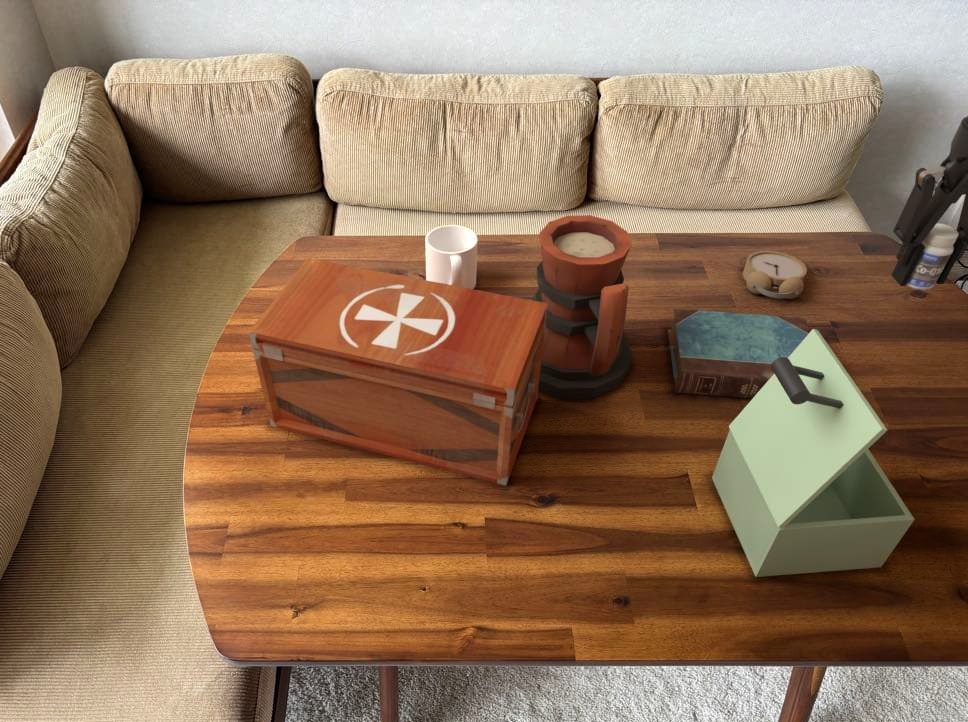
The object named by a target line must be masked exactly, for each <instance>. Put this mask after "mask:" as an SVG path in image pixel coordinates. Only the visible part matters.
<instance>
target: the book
mask: <svg viewBox="0 0 968 722" xmlns="http://www.w3.org/2000/svg"><path fill="white" fill-rule="evenodd" d="M672 310H673V321H672V326H671V329H667V335H668V342H669V343H668V344H669V351H670V355H671V356H670V358H671V366H672V374H673V380H674V382H673V383H674V388H675V393H678V394H679V393H680V394H688V395H702V396H712V397H713V396H715V397H725V398H726V397H727V398H738V399H749V400H752V399H753V398H754V396H755V395H756V394H757V393H758V392H759V391H760V390H761V388H762V387H763V386H764V385H765V384H766V383H767V381H768V380H769V379H770V378H771V377H772V376H773V375H774V372H773V370H772V368H771V364H772V362H773V361H774V360H776V359H778V358H780V357H786V358H788V357H789V356H790V355H791V354H792V353H793V351H794V350H795V349H796V348H797V347H798V346H799V344H800V343H801V342H802V341H803V340H804V339H805V338H806V336H807V335H808V334H809V333H810V332H811V330H810V328H809V325H808V321H807V319H806V317H798V316H797V317H796V316H782V315H771V314H769V315H768V314H755V313H739V312H726V311H715V310H714V311H712V310H697V309H685V308H683V309H682V308H673V309H672Z"/></svg>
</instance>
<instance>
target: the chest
mask: <svg viewBox="0 0 968 722" xmlns="http://www.w3.org/2000/svg"><path fill="white" fill-rule="evenodd" d="M711 479H712V482H713V484H714V486H715V489H716V491H717V493H718V496H719V498H720V500H721V502H722V504H723V506H724V509H725V512H726V513H727V516H728V518H729V521H730V523H731V525H732V527H733V530H734V531H735V534H736V537H737V539H738V540H739V543H740V546H741V547H742V550H743V552H744V554H745V556H746V559H747V561H748V564H749V565H750V567H751V570H752V572H753V575H754V576H755V578H760V577H773V576H775V577H776V576H783V575H784V576H787V575H788V576H789V575H799V574H812V573H825V572H837V571H850V570H851V571H852V570H862V569H864V570H865V569H875V568H882V567H883V565H884V564H885V562H886V561H887V559H888V558H889V557H890V556H891V554H892V553H893V551H894V549H895V548H896V547H897V546H898V544H899V543H900V541H901V540H902V538H903V537H904V536H905V534H906V532H907V531H908V530H909V528H910V527H911V526H912V524H913V523H914V521H915V517H914V516H913V515H912V513H911V512H910V510H909V509H908V507H907V505H906V504H905V502H904V501H903V500H902V498H901V496H900V495H899V493H898V492H897V490H896V488H895V487H894V485H893V484H892V483H891V481H890V479H889V478H888V477H887V475H886V473H885V472H884V470H883V469H882V468H881V466H880V464H879V463H878V461H877V459H875V457H874V455H873V454H872V452H871V451H870V449H869V448H868V449H867V450H866V451H865V452H864V453H863V454H862V455H861V456H860V457H858V458H857V459H856V460H855V461H854V462H853V463H852V464H851V465H850V466H849V467H848V468H847V469H846V470H845V471H844V472H842V473H841V474H840V475H839V476H838V477H837V478H836V479H835V480H834V481H833V482H832V483H831V484H830V485H829V486H827V487H826V488H825V489H824V490H823V491H822V492H821V493H820V494H819V495H818V496H817V497H816V498H815V499H814V500H813V501H811V502H810V503H809V504H808V505H807V506H806V507H805V508H804V509H803V510H802V511H801V512H800V513H799V514H798V515H796V516H795V517H794V518H793V519H792V520H791V521H790V522H789V523H788V524H787V525H786V526H785V527H784V528H781V527H778V526H777V523H776V521H775V519H774V517H773V515H772V513H771V511H770V509H769V507H768V505H767V503H766V501H765V499H764V497H763V495H762V493H761V491H760V489H759V487H758V485H757V483H756V481H755V479H754V477H753V475H752V473H751V471H750V469H749V467H748V465H747V463H746V461H745V459H744V457H743V455H742V453H741V451H740V449H739V447H738V445H737V443H736V441H735V439H734V437H733V435H732V433H731V430H730V429H729V431H728V434H727V436H726V438H725V442H724V445H723V447H722V449H721V452H720V455H719V457H718V459H717V462H716V465H715V468H714V471H713V473H712V476H711Z"/></svg>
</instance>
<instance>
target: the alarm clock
mask: <svg viewBox="0 0 968 722" xmlns="http://www.w3.org/2000/svg"><path fill="white" fill-rule="evenodd" d="M807 272H808V268H807V266H806V264H805V263H804V262H803V261H802V260H800V259H798V258H797V257H795V256H793V255H790V254H788V253H784V252H780V251H775V250H760V251H756V252H752V253H751V254H749V255H747V258H746V260H745V265H744V268H743V271H742V278H743V279H744V280H745V282H746V287H747V290H748V291H749V292H751V293H752V294H753V295H757V296H758V295H759V296H760V295H763V296H765V297H769V298H772V299H784V300H793V299H796V298H798V297H799V296H800V295H801V294H802V292H803V291H804V288H805V283H804V279H805V277H806V275H807Z"/></svg>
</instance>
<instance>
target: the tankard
mask: <svg viewBox="0 0 968 722" xmlns="http://www.w3.org/2000/svg"><path fill="white" fill-rule="evenodd" d="M539 241H540V251H541V252H540V253H541V262H540V263H539V264H538V265H537V267H536V282H537V286H538V287H537V288H538V290H537V291H536V293H535V294H534V297H533V300H532V301H538V302H543V303H548V306H547V315H546V320H545V321H546V325H545V332H544V341H543V350H542V359H541V368H540V377H539V386H538V393H541V394H544V395H546V396H550V397H552V398H555V399H558V400H583V399H585V400H588V399H590V400H591V399H595V398H597V397H600V396H601V395H603V394H606V393H608V392H611V391H612V390H615V389H617V388H619V387H620V385H622V382H623V381H624V379H625V378H626V376H627V374H628V372H629V370H630V368H631V366H632V361H633V352H632V349H631V346H630V343H629V342H630V341H629V339H628V335H627V334H626V333H625V332H624V328H625V324H626V317H627V310H628V309H627V308H628V298H629V288H630V286H628V285H627V284H626V283H624V281H625V277H624V274H623V271H622V269H623V267H624V264H625V262H626V259H627V258H628V255H629V252H630V250H631V247H632V242H631V239H630V236H629V234H628V230H625V229H624V228H623V227H621V226H620V225H618V224H617V223H615V222H614V221H613V220H609V219H606V218H602V217H598V216H594V215H591V214H590V215H589V214H587V215H586V214H585V215H582V214H581V215H580V214H579V215H566V216H562V217H560V218H559V217H558V218H556V219H553V220H551V221H548V223H547V224H546V225H545V226H544V227H543V228H542V229H541V231H540V232H539Z"/></svg>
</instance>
